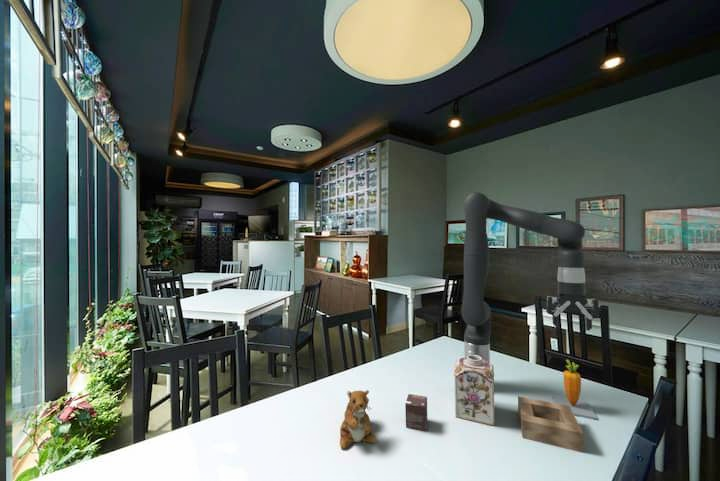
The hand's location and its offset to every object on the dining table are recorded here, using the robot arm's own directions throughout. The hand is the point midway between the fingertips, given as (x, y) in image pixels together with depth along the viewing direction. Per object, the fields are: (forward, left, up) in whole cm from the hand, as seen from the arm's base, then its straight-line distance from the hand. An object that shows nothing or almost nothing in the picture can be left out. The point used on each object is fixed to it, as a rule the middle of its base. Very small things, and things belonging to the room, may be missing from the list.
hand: (571, 328), depth 96 cm
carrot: (0, 0, -26) cm, 26 cm away
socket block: (-10, -17, -27) cm, 33 cm away
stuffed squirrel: (-61, -42, -27) cm, 79 cm away
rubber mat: (0, 0, -27) cm, 27 cm away
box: (-46, -30, -27) cm, 61 cm away
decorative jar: (-30, -16, -27) cm, 43 cm away
